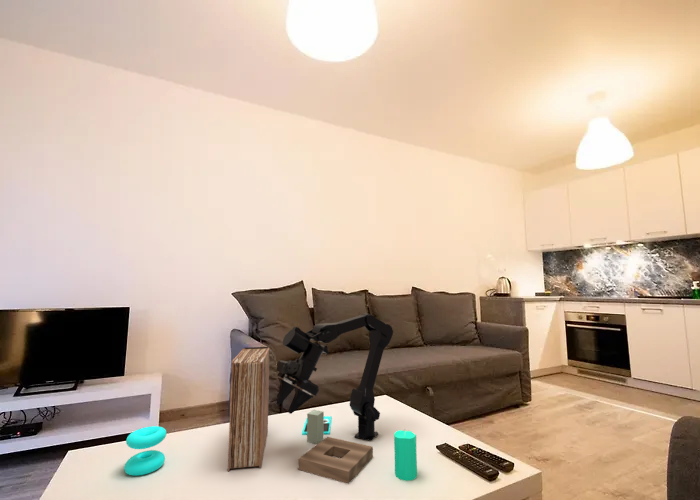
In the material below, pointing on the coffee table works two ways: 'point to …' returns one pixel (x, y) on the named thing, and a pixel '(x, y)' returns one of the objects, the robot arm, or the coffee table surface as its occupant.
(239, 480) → the coffee table surface
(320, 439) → the sage peg
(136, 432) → the donuts
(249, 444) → the book
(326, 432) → the handheld game console
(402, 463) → the candle
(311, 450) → the walnut well block
